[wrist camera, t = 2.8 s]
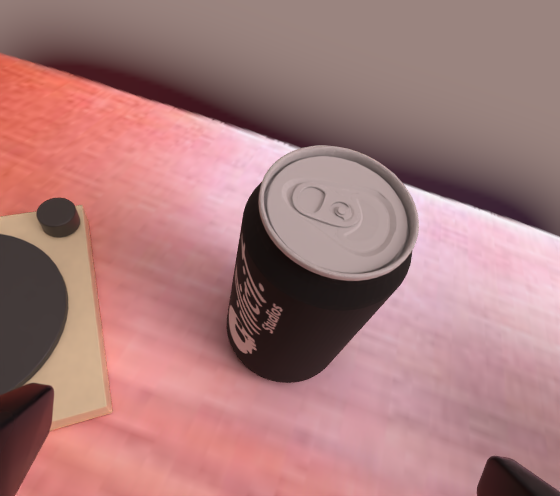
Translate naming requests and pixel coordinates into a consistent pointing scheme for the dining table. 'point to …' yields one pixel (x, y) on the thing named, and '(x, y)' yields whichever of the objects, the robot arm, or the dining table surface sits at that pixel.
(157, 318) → the dining table surface
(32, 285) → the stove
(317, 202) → the beverage can
